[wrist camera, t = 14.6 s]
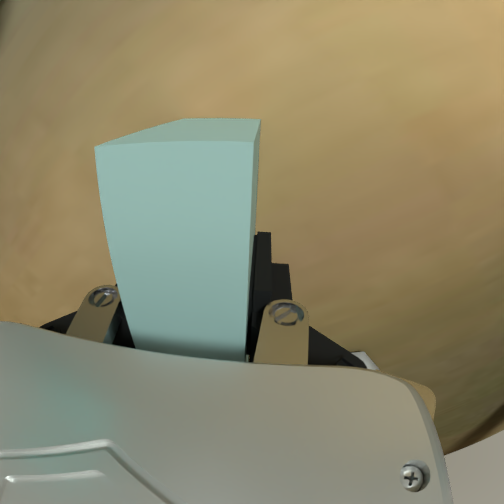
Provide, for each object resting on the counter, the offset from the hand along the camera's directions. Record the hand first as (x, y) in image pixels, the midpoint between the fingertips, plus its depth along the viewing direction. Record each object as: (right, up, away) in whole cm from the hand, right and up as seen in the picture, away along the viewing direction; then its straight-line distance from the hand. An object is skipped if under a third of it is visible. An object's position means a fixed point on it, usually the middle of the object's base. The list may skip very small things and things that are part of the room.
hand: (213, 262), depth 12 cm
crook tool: (+3, -4, +4) cm, 7 cm away
